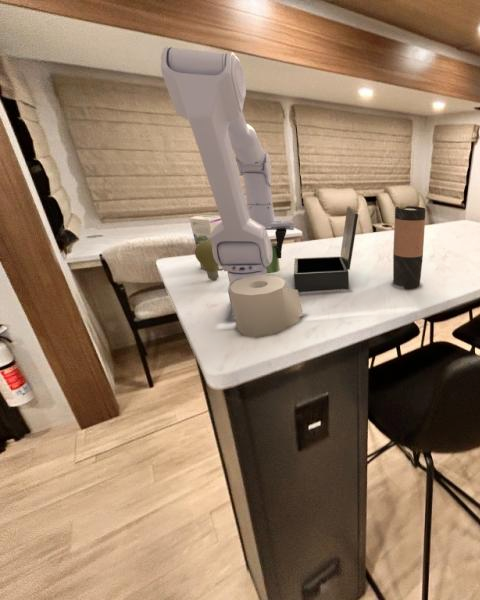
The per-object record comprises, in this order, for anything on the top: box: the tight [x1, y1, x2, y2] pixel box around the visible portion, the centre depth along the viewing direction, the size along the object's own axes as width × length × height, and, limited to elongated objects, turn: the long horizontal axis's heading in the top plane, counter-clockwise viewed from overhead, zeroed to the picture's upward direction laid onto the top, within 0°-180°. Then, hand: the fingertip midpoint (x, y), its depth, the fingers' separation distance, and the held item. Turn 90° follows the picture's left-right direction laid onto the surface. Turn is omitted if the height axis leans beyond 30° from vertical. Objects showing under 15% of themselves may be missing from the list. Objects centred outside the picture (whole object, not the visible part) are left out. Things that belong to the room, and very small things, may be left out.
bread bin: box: [293, 256, 350, 293], centre depth 80 cm, size 13×14×5 cm
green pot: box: [266, 241, 281, 274], centre depth 81 cm, size 6×6×7 cm
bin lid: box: [340, 205, 359, 271], centre depth 78 cm, size 13×14×1 cm
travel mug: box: [392, 205, 426, 290], centre depth 79 cm, size 8×8×20 cm
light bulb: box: [194, 242, 220, 281], centre depth 79 cm, size 6×6×10 cm
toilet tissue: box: [228, 274, 304, 338], centre depth 60 cm, size 9×13×9 cm
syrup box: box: [189, 214, 223, 270], centre depth 88 cm, size 6×6×14 cm
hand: (267, 257), depth 81 cm, fingers closed on green pot, 5 cm apart
